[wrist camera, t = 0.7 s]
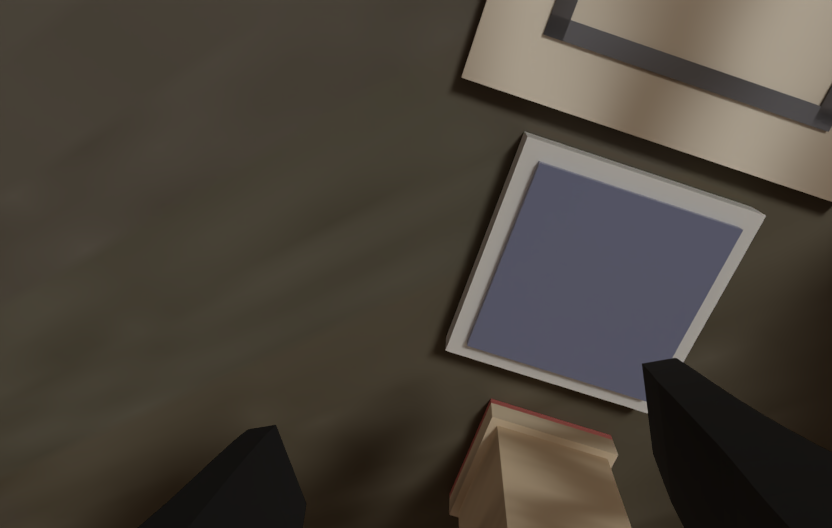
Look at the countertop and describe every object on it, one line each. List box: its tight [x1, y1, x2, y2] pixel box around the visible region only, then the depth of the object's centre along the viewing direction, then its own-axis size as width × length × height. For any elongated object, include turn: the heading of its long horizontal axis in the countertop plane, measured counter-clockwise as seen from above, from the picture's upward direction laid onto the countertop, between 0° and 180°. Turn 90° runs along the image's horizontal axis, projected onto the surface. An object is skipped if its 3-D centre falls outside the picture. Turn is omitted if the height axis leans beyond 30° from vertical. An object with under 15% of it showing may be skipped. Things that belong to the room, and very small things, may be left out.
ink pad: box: [445, 131, 766, 413], centre depth 20 cm, size 8×8×1 cm
